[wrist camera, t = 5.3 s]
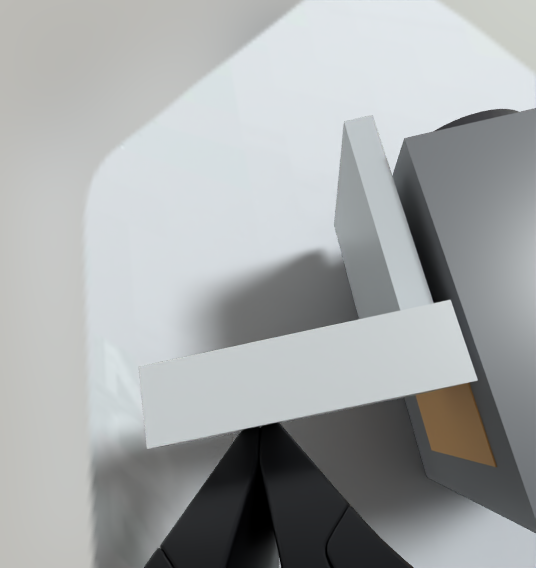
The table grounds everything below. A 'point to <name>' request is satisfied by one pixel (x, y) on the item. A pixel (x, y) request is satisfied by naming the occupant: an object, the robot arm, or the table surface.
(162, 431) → the side door
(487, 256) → the block
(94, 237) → the table surface
